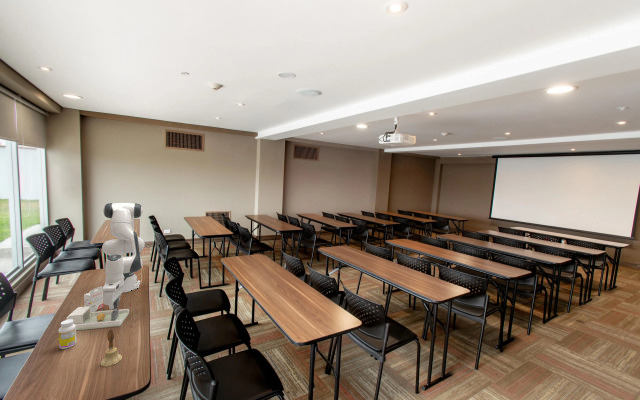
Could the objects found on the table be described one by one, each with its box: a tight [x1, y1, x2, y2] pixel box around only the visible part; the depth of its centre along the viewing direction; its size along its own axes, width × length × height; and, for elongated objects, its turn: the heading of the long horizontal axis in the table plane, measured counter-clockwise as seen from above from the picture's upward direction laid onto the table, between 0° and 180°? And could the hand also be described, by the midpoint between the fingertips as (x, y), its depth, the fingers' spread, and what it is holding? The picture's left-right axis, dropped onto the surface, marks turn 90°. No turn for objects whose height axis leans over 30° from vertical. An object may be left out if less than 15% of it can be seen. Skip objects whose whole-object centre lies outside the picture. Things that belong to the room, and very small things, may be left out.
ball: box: [97, 313, 105, 321], centre depth 161 cm, size 4×4×4 cm
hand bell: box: [100, 327, 123, 368], centre depth 129 cm, size 8×8×16 cm
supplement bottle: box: [57, 319, 77, 350], centre depth 138 cm, size 7×7×13 cm
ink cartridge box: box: [83, 285, 105, 312], centre depth 174 cm, size 9×5×15 cm, turn 168°
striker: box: [111, 300, 120, 321], centre depth 163 cm, size 5×3×11 cm, turn 18°
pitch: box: [66, 306, 130, 331], centre depth 161 cm, size 15×26×8 cm, turn 108°
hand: (114, 305), depth 163 cm, fingers open, 8 cm apart
